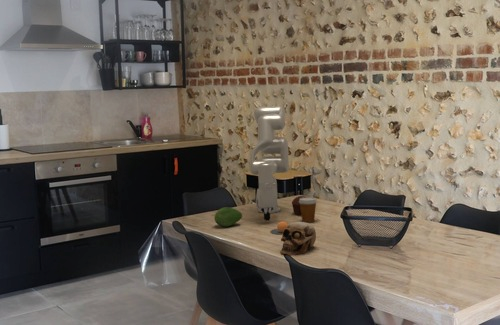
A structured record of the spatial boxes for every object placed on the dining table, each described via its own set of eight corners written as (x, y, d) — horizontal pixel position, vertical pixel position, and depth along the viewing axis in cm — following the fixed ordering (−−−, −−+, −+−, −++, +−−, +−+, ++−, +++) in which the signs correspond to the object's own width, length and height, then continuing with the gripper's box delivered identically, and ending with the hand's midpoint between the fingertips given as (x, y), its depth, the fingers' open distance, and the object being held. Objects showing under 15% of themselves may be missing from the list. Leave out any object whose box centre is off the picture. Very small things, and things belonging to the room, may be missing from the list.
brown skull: (280, 255, 272) (280, 224, 271) (281, 248, 289) (281, 219, 289) (316, 256, 270) (316, 225, 270) (315, 249, 288) (315, 220, 287)
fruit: (238, 222, 338) (237, 203, 337) (246, 225, 330) (245, 207, 328) (212, 225, 332) (211, 207, 331) (219, 229, 323) (218, 210, 322)
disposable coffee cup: (318, 222, 330) (317, 200, 328) (299, 223, 330) (299, 200, 328) (316, 218, 339) (315, 196, 338) (298, 219, 339) (298, 197, 338)
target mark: (266, 230, 317) (266, 230, 317) (288, 227, 321) (288, 227, 321) (275, 235, 306) (275, 235, 306) (298, 232, 310) (298, 232, 310)
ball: (278, 221, 308) (280, 232, 307) (289, 220, 310) (291, 231, 309) (274, 222, 314) (276, 233, 313) (285, 221, 315) (287, 232, 314)
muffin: (288, 213, 355) (287, 196, 354) (305, 211, 359) (304, 194, 358) (298, 217, 344) (298, 199, 343) (316, 214, 349) (315, 197, 347)
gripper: (276, 183, 337) (277, 217, 339) (250, 186, 332) (251, 220, 334) (281, 185, 330) (282, 220, 332) (254, 188, 325) (256, 223, 327)
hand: (267, 220), depth 333 cm, fingers closed
